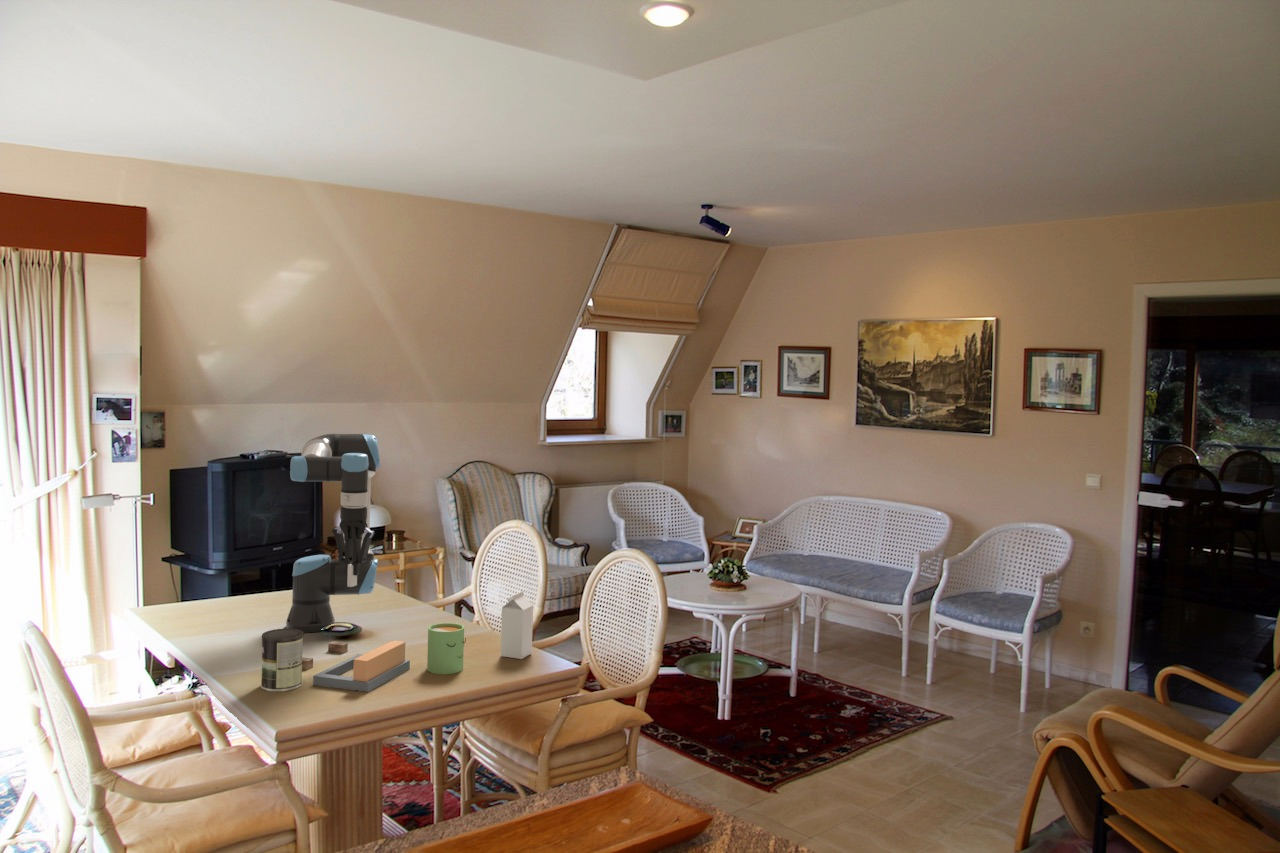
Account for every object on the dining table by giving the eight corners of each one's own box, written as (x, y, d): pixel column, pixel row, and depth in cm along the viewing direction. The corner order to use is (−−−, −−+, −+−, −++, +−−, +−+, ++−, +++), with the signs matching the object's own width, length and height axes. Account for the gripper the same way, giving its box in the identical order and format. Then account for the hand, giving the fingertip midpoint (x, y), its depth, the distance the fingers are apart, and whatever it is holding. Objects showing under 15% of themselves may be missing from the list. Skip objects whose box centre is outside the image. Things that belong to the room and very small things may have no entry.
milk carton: (531, 653, 285) (533, 592, 285) (521, 659, 279) (523, 596, 278) (511, 650, 288) (512, 589, 287) (500, 656, 281) (502, 594, 280)
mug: (446, 676, 260) (447, 634, 260) (419, 669, 266) (420, 627, 265) (477, 666, 271) (478, 625, 270) (450, 659, 276) (451, 619, 276)
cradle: (292, 667, 263) (292, 659, 263) (332, 649, 282) (333, 641, 282) (307, 669, 262) (307, 660, 262) (347, 651, 281) (347, 643, 281)
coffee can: (255, 691, 242) (256, 638, 241) (267, 679, 252) (268, 628, 252) (296, 692, 243) (297, 638, 242) (306, 679, 253) (307, 628, 252)
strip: (353, 687, 246) (353, 659, 246) (392, 666, 266) (392, 640, 266) (366, 689, 245) (367, 661, 245) (404, 668, 265) (405, 642, 264)
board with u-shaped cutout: (313, 685, 249) (313, 675, 249) (358, 662, 270) (358, 654, 270) (368, 692, 245) (368, 682, 244) (409, 668, 266) (409, 660, 266)
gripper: (326, 506, 270) (325, 586, 272) (366, 509, 267) (364, 590, 269) (341, 502, 278) (339, 580, 279) (380, 506, 274) (378, 585, 276)
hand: (352, 585), depth 274 cm, fingers closed
